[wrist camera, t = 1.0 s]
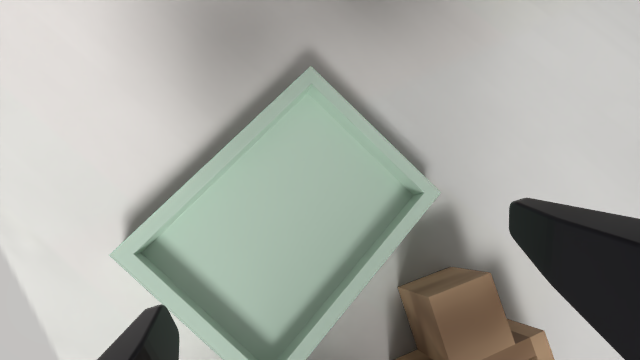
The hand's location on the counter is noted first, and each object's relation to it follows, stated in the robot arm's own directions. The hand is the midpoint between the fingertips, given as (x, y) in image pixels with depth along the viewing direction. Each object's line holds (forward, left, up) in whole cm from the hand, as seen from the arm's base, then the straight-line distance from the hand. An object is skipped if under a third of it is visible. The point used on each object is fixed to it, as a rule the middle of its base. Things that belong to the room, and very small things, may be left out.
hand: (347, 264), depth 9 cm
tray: (+2, 0, -13) cm, 13 cm away
